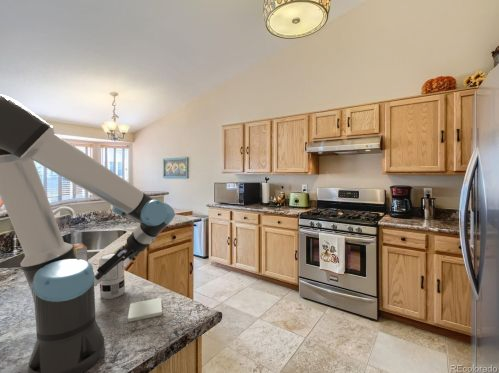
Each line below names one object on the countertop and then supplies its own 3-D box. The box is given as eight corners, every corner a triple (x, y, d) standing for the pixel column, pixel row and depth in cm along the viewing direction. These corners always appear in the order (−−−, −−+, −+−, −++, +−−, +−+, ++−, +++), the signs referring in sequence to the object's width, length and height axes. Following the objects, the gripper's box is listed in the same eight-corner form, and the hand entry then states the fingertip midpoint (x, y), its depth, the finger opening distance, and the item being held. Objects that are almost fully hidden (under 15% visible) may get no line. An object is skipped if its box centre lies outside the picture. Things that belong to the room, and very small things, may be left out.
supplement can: (95, 297, 93) (93, 257, 92) (116, 288, 100) (114, 251, 100) (109, 302, 89) (107, 260, 89) (129, 292, 97) (128, 254, 96)
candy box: (73, 278, 111) (71, 244, 110) (84, 275, 114) (83, 242, 113) (77, 284, 104) (75, 248, 104) (89, 281, 107) (87, 246, 107)
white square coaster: (162, 314, 81) (162, 311, 80) (127, 321, 77) (127, 318, 77) (161, 300, 90) (161, 297, 90) (130, 306, 86) (130, 303, 86)
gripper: (127, 256, 79) (87, 299, 82) (165, 236, 104) (133, 270, 107) (111, 239, 80) (72, 282, 83) (153, 223, 104) (121, 257, 107)
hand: (106, 275), depth 95 cm, fingers open, 13 cm apart
